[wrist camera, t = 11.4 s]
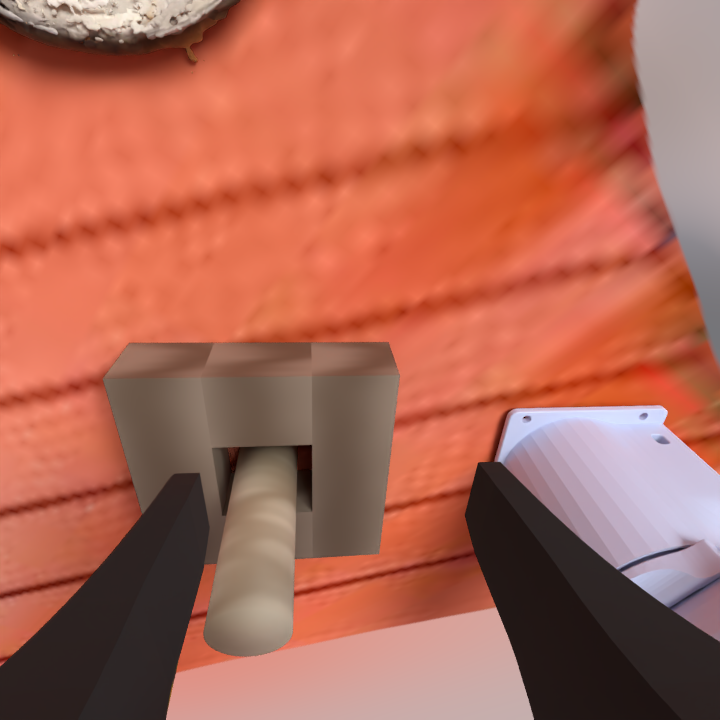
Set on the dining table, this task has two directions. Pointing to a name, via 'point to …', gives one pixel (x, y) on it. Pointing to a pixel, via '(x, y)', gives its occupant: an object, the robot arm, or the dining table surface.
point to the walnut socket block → (264, 428)
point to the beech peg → (256, 556)
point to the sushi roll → (114, 23)
